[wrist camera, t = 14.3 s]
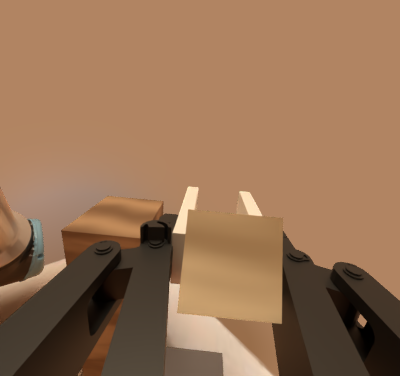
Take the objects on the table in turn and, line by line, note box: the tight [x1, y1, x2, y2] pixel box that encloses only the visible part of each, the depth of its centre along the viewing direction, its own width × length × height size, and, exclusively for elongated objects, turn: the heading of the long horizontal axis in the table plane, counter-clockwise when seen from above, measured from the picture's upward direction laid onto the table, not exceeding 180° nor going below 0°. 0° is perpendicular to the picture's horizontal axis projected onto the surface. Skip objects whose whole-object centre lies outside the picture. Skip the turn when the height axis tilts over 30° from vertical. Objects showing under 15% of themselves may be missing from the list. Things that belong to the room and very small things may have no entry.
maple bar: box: [177, 209, 283, 324], centre depth 19 cm, size 26×3×3 cm, turn 177°
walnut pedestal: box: [61, 196, 163, 376], centre depth 35 cm, size 14×12×30 cm
